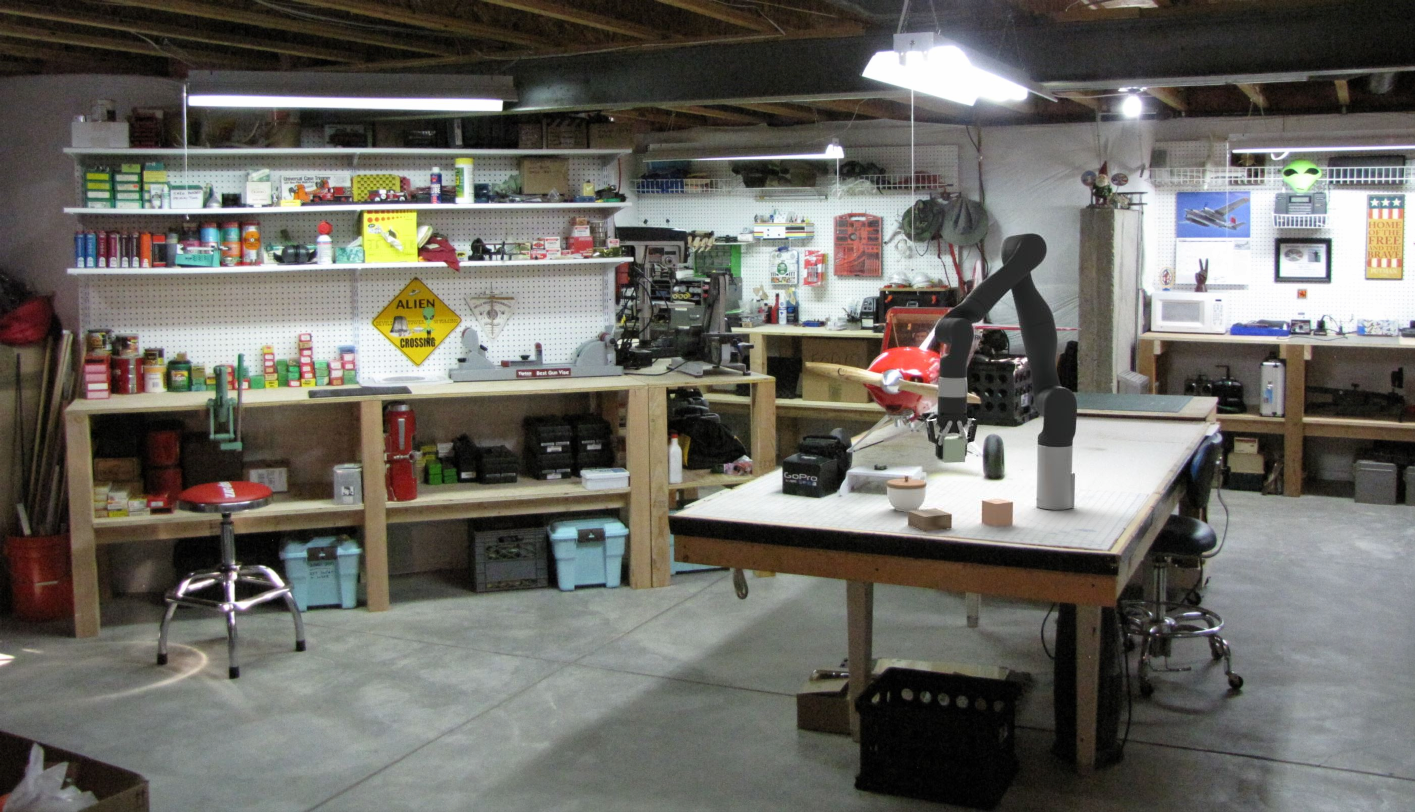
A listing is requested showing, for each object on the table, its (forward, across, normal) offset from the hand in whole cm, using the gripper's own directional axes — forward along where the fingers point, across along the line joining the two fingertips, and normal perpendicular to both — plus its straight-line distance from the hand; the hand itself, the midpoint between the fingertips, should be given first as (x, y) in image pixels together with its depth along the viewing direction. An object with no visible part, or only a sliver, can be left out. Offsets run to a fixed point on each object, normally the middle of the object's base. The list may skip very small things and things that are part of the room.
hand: (950, 458), depth 321 cm
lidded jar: (+16, +7, -14) cm, 22 cm away
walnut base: (+16, +9, +8) cm, 20 cm away
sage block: (+1, 0, 0) cm, 1 cm away
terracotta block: (+16, -9, +9) cm, 21 cm away
